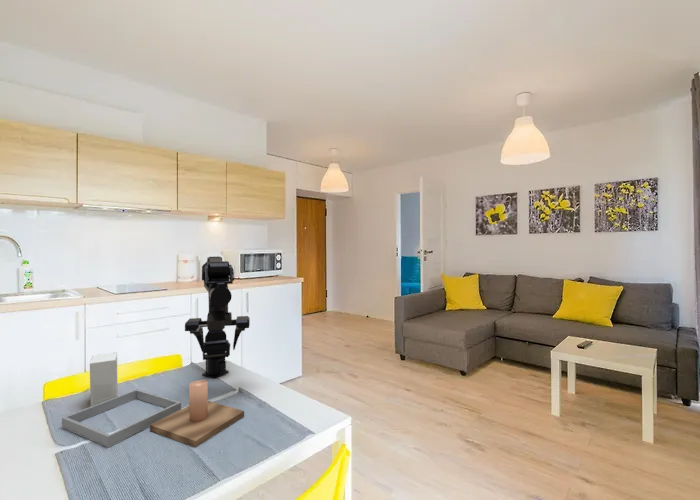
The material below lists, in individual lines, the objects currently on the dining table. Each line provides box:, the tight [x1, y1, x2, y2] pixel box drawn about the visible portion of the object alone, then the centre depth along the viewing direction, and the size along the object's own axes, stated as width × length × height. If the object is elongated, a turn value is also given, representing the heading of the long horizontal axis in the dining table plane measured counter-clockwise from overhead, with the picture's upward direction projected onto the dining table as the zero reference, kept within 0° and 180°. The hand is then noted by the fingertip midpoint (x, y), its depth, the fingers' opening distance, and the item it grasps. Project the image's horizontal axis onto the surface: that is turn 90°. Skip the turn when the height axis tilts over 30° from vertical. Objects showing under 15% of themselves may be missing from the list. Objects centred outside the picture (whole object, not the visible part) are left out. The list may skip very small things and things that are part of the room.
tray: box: [61, 388, 182, 448], centre depth 94 cm, size 19×19×2 cm
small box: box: [89, 352, 119, 407], centre depth 104 cm, size 8×6×13 cm
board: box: [149, 400, 245, 448], centre depth 92 cm, size 16×16×2 cm
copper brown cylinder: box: [188, 379, 209, 422], centre depth 92 cm, size 4×4×9 cm
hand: (218, 350), depth 111 cm, fingers open, 9 cm apart
